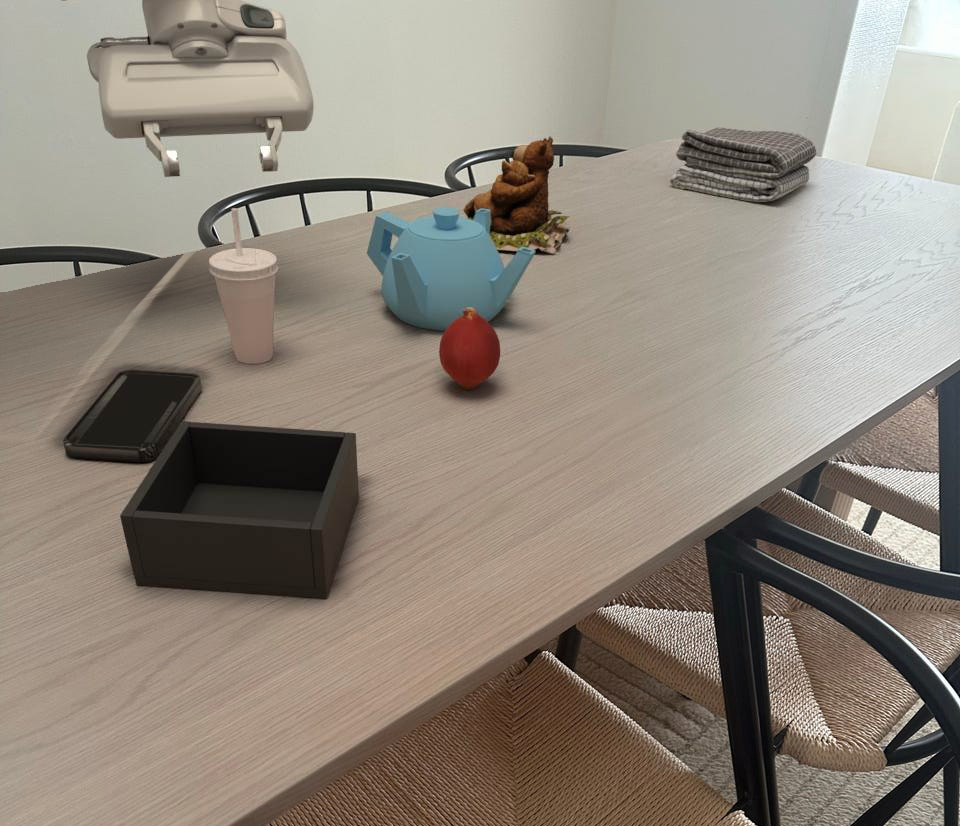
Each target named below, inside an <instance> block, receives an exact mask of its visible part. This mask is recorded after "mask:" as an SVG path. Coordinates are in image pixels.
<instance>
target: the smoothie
mask: <svg viewBox="0 0 960 826" xmlns="http://www.w3.org/2000/svg"><path fill="white" fill-rule="evenodd" d="M231 219H232V226H233V234H234V243H235V248H230V249H224V250H221V251H218V252H216V253H214V254H213V255H211V256H210V257H209V259H208V263H209V272H210V274H211V275H213V277H214V280H215V284H216V288H217V292H218V295H219V300H220V302H221V307H222V310H223V315H224V319H225V323H226V326H227V330H228V333H229V337H230V341H231V345H232V349H233V352H234V357H235V360H236V361H238V362H239V363H242V364H247V365H259V364H264V363H266V362H269V361H271V360H272V359H273V357H274V329H275V328H274V324H275V323H274V322H275V321H274V320H275V289H276V285H275V284H276V283H275V280H276V273H277V272H278V270H279V266H278V260H277V259H278V258H277V256H276V255H275V254H274V253H272V252H270V251H268V250H264V249H260V248H253V247H243V244H242V237H241V228H240V227H241V226H240V220H239V211H238V208H235V207H234V208H231Z"/></svg>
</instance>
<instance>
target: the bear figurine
mask: <svg viewBox="0 0 960 826" xmlns="http://www.w3.org/2000/svg"><path fill="white" fill-rule="evenodd" d="M553 143H554V139H553V137H552V136H551V135H549V137H548V138H546V137H544V138H543V140H542V139H539V140H535V141H532V142H529V144H520V145H518V146H517V147H516V148H515V149H514V150H512V151H511V158H512V160H511V161H509V162H508V161H507V160H505V159H503V160H502V162H501V172H502V173H501V174H498V175H497V176H496V178H495V181H494V182H493V183H492V186H491V188H490V189H489V190H488V191H487V192H484V193H478V194H476V195H475V196H474V197H473V198H472V199H470V200H469V202H467V204H466V205H465V206H464V208H463V210H462V211H463V213H464V214H465V216H466V218H467V219H470V220H473V219H474V216H475V212H476V211H477V210H479V209H481V208H482V209H488V210H491V215H490V237H491V239H492V241H493V243H494V245H495V247H496V249H497V251H510V252H511V251H512V252H517V251H518V249H519V248H521V247H525V248H529V249H532V250H535V251H536V250H537V249H539V250H540V251H541V252H545V253H549V254H555V253H557V252H558V250H556V248H557V247H559V246H560V245H561V244H562V242H563V239H564V237H565V236H566V234H568V233H569V231H570V230H571V227H567V223H566V220H568V218H570V215H563V212H561V211H558V210H552V209H551V210H549V207H550V205H549V182H548V181H549V174H550V169H552V167H554V164H555V163H554V161H555V153H554V150H553ZM556 215H557V216H556ZM553 216H554V217H553Z"/></svg>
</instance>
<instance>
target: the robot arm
mask: <svg viewBox="0 0 960 826" xmlns="http://www.w3.org/2000/svg"><path fill="white" fill-rule="evenodd" d="M62 1H66V0H62ZM141 7H142V13H143V17H144V23H145V27H146V28H145V29H146V33H147V36H128V37H122V38H121V37H120V38H119V37H118V38H117V37H116V38H115V37H112V36H107V37H102V38H100V39H99V40H100V41H98V42H95V43H93V44H92V45H91V46H90V47H89V48H88V50H87V54H86V59H87V65H88V71H89V73H90V75H91V77H92V78H93V79H94V80H95V82H96V83H98V94H99V102H100V109H101V116H102V117H101V118H102V121H103V126H104V127H103V128H104V130H105V131H106V132H107V133H108V134H109V135H111V136H112V137H113V138H115V139H118V140H119V139H120V140H121V139H142V138H143V139H144V141H145V145H146V146H145V147H146V148H148V150H149V151H150V152H151V153H152V154H153V155H154V156H155V158H156V159H157V160H158V161H159V162H161V165H162V166H161V167H162V172H163V177H164V178H170V177H173V178H174V177H181V169H180V162H179V160H178V153H177V150H176V149H175V150H173V149H172V150H171V149H170V150H168V149H167V147H166V146H165V145H164V144H163V143H162V141H161V138H166V137H167V138H168V137H169V138H170V137H191V136H193V137H194V136H216V135H236V134H237V135H238V134H239V135H240V134H241V135H242V134H258V133H259V134H263V133H265V136H266V140H267V141H268V145H261V146H259V154H258V155H259V156H258V158H259V162H260V165H261V166H260V167H261V171H262V172H263V173H264V172H265V173H266V172H269V173H270V172H278V169H279V162H278V161H279V160H278V159H279V158H278V155H277V152H278V150H279V147H280V144H281V141H282V136H283V132H285V133H287V132H304V131H306V130H307V129H308V128H309V126H310V124H311V123H312V121H313V116H314V105H315V103H314V97H313V93H312V89H311V84H310V81H309V77H308V75H307V72H306V68H305V65H304V63H303V61H302V58H301V55H300V53H299V51H298V50H297V49H296V47H295V45H293V44H292V43H291V42H290V41H289V40H288V39H287V24H286V19H285V16H284V15H283V14H282V13H281V12H279V11H277V10H275V9H272V8H268V7H266V6H265V7H264V6H262V5H261V6H260V5H257V4H255V3H251V2H248V1H245V0H141Z"/></svg>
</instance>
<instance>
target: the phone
mask: <svg viewBox="0 0 960 826" xmlns="http://www.w3.org/2000/svg"><path fill="white" fill-rule="evenodd" d="M202 387H203V386H202V381H201V377H200V375H199V374H196V373H193V372H192V373H191V372H179V371H178V372H176V371H175V372H174V371H163V370H148V369H147V370H146V369H135V368H134V369H133V368H131V369H125V370H122V371H119V373H117V374H116V376H115V377H114V378H113V379H112V380H111V381H110V382H109V384H108V385H107V386H106V388H104V390H103V391H102V392H101V393H100V395H99V396H98V397H97V398H96V399H95V400H94V402H92V404H91V405H90V407H89V408H88V409H87V410H86V411H85V413H84V414H83V415H82V416H80V419H79V420H78V421H77V422H76V423H75V425H74V426H73V427H72V428H71V430H70V431H69V432H68V433H67V434H66V435H65V437H64V438H63V439H62V443H63V447H64V451H65V455H66V456H67V457H69V458H73V459H83V460H84V459H86V460H101V461H113V462H125V463H126V462H128V463H148V462H152V461H153V460H156V459H157V458H158V456H159V455H160V453H161V452H162V450H163V449H164V447H165V446H166V444H167V443H168V441H169V440H170V438H171V437H172V435H173V433H174V432H175V430H176V429H177V427H178V426H179V424H180V423H181V421H183V420H184V417H185V415H186V414H187V413H188V411H189V409H190V408H191V407H192V405H194V404H193V403H194V402H195V401H196V399H197V398H198V396H199V394H200V393H201V392H202V389H203V388H202Z"/></svg>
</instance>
